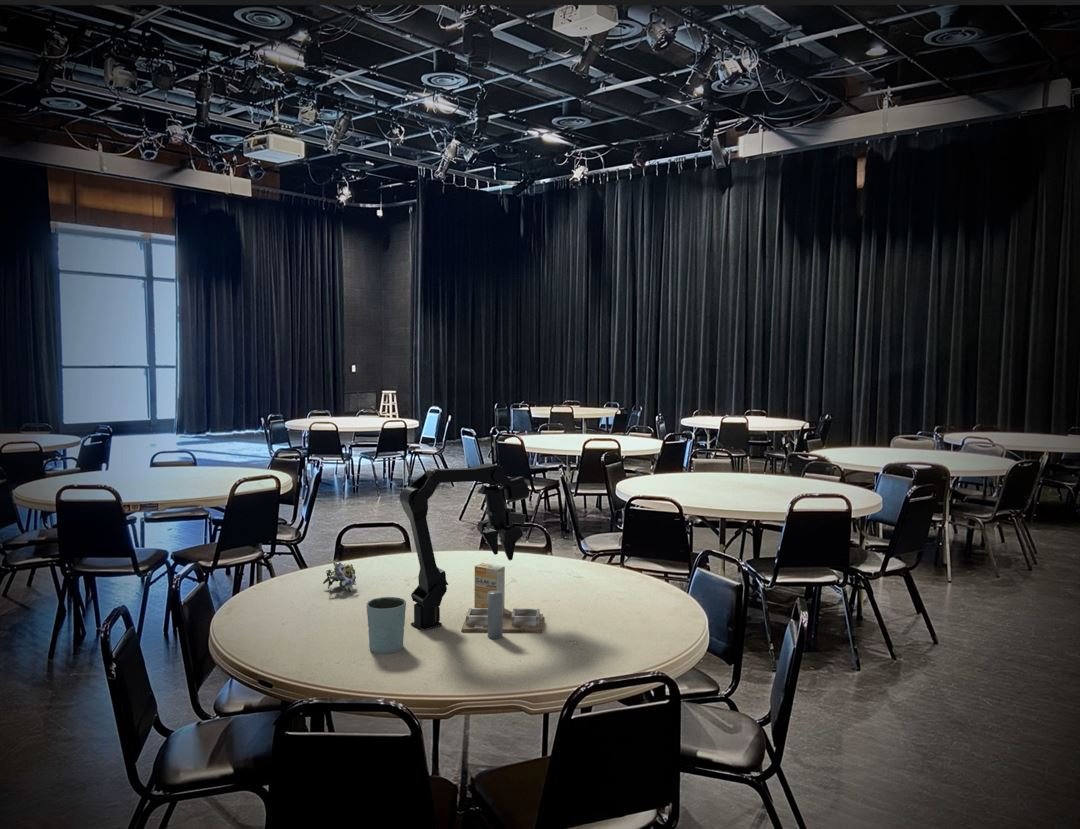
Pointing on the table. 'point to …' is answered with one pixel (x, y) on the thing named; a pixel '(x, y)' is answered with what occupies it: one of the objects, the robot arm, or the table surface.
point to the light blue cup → (386, 624)
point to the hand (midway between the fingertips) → (503, 557)
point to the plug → (495, 615)
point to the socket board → (504, 621)
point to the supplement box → (488, 583)
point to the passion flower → (342, 576)
